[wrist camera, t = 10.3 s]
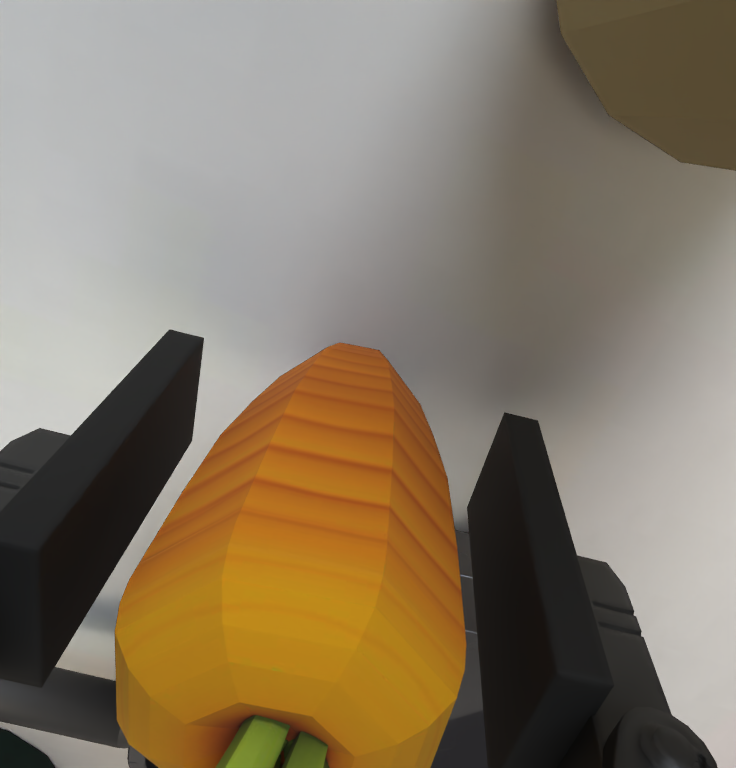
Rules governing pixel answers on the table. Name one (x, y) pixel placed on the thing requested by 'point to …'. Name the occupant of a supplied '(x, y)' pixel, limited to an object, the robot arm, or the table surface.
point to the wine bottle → (20, 753)
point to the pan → (466, 723)
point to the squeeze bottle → (662, 70)
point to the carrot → (301, 587)
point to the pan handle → (65, 707)
